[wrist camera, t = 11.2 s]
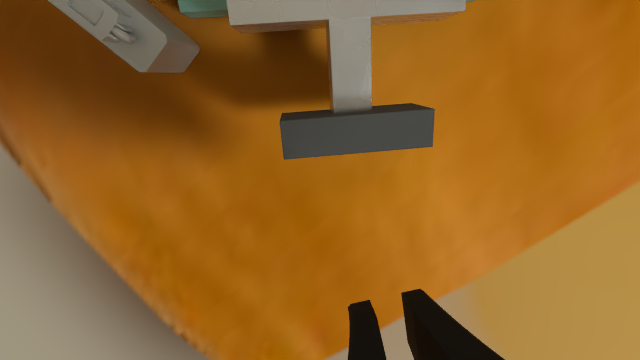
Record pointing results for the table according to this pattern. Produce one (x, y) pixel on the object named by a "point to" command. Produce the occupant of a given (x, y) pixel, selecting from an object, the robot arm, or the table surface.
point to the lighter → (134, 33)
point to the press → (208, 8)
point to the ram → (346, 73)
